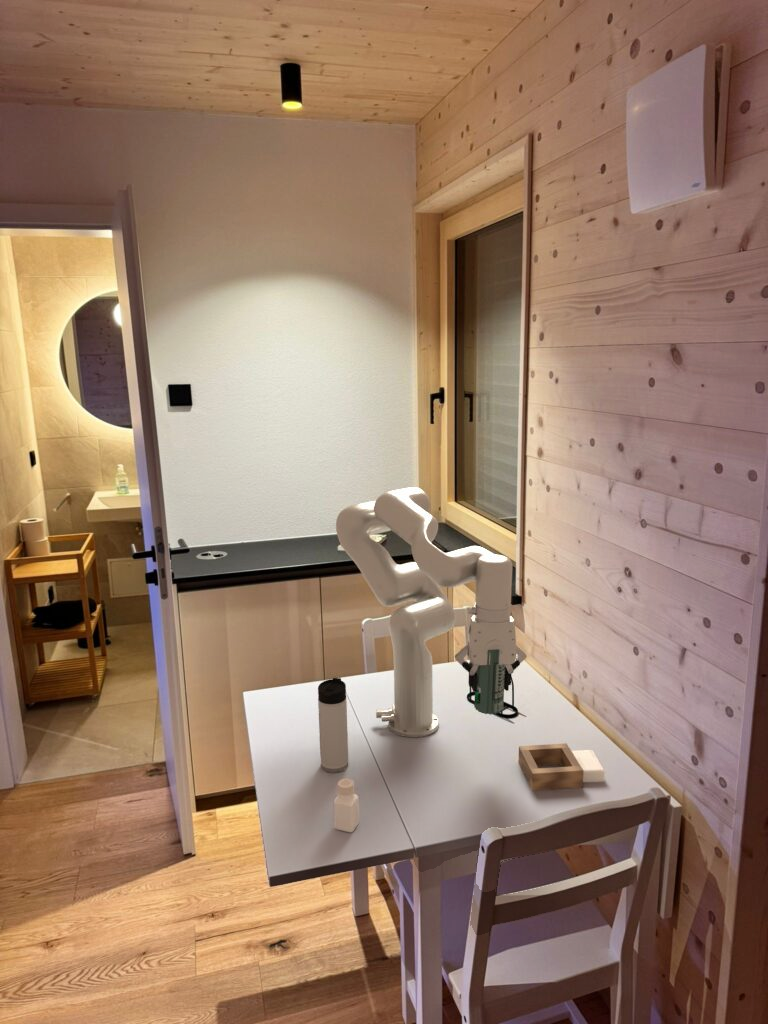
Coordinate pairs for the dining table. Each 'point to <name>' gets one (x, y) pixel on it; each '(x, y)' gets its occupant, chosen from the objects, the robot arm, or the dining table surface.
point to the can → (490, 685)
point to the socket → (550, 777)
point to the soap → (589, 766)
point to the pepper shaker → (346, 806)
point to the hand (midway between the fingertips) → (489, 687)
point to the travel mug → (333, 725)
